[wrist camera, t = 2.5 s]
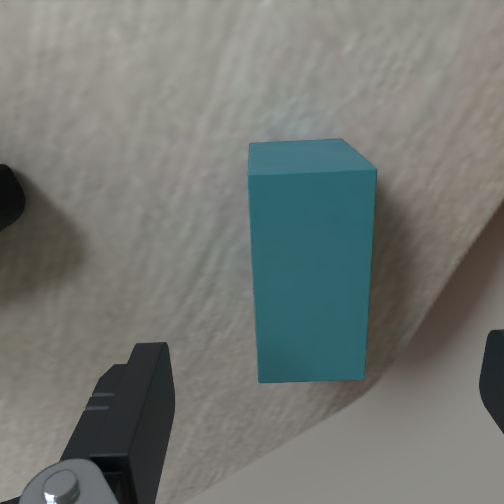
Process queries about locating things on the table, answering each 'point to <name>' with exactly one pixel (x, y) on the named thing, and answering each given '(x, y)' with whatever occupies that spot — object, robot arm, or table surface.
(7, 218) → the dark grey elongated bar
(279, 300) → the block
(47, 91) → the table surface
